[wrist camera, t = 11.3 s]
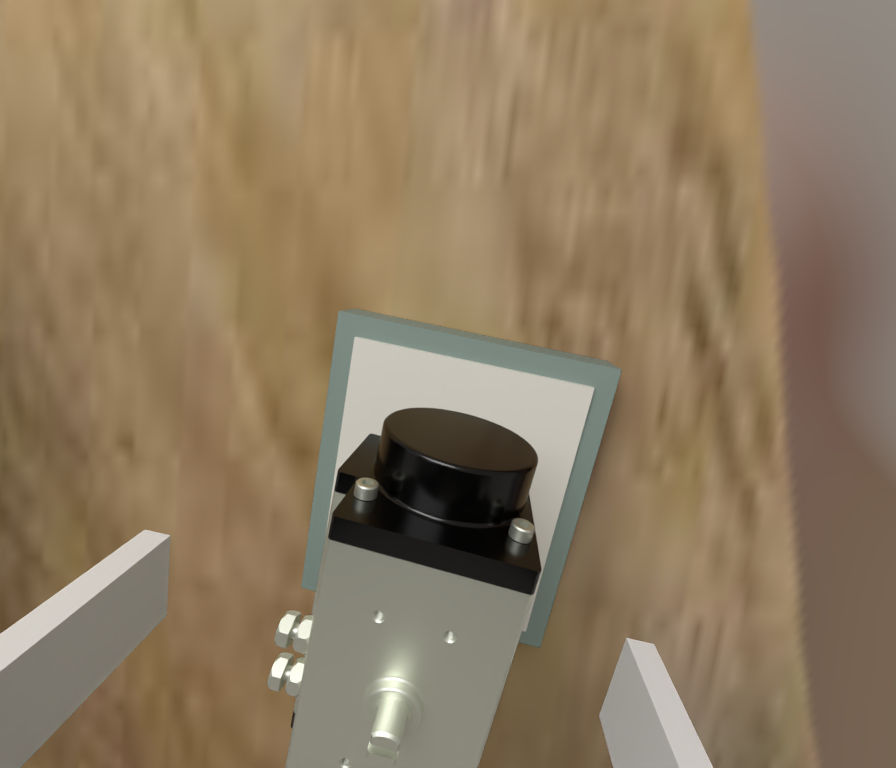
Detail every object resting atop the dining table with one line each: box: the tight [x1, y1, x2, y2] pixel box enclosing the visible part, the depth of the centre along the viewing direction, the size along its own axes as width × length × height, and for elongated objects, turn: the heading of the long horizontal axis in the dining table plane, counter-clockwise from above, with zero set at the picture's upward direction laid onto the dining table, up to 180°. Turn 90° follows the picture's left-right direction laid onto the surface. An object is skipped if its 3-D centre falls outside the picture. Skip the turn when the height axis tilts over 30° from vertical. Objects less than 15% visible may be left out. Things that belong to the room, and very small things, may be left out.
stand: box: [301, 309, 622, 648], centre depth 22 cm, size 13×15×3 cm
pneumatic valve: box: [267, 408, 542, 768], centre depth 15 cm, size 6×12×12 cm, turn 167°
